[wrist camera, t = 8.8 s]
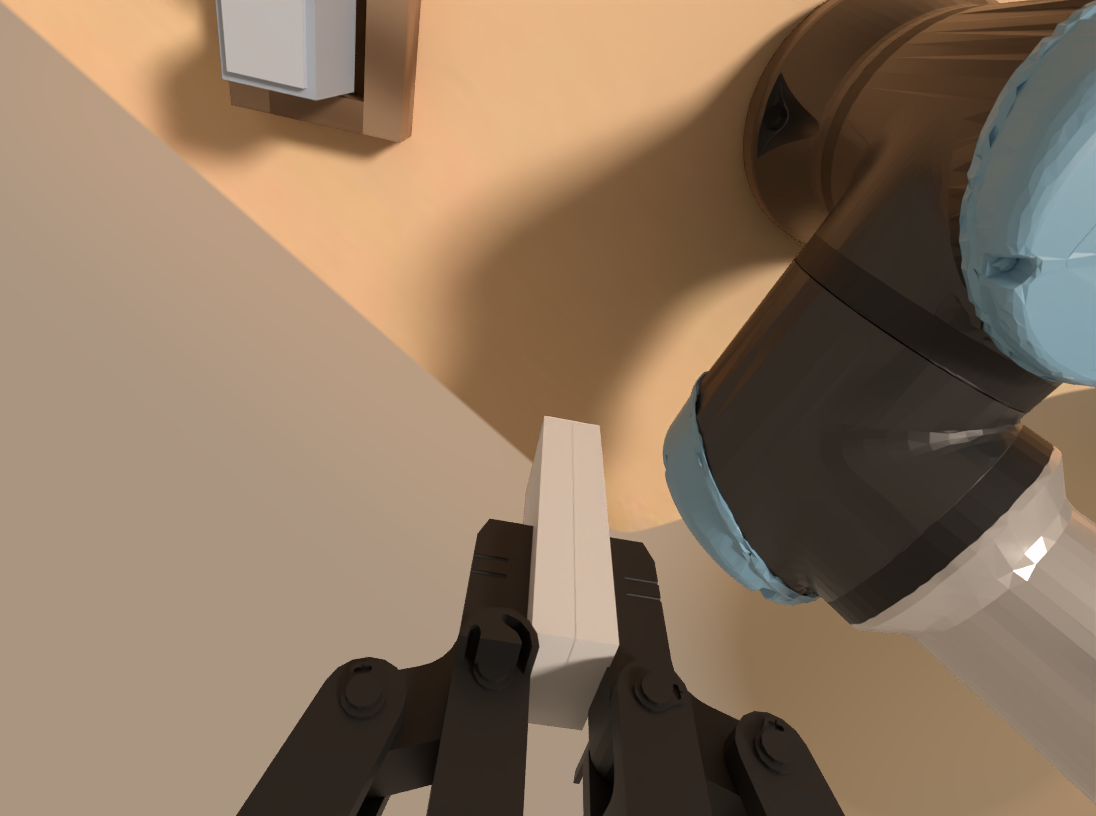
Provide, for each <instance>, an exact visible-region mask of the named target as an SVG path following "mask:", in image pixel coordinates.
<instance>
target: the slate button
mask: <svg viewBox="0 0 1096 816" xmlns="http://www.w3.org/2000/svg"><path fill="white" fill-rule="evenodd" d="M215 1H216V12H217V23H218V35H219V46H220V58H221V69H222V79H224V80H229V81H233V82H237V83H242V84H246V85H251V86H255V87H259V88H264V89H268V90H272V91H277V92H281V93H286V94H290V95H294V96H299V97H303V98H307V99H312V100H321V99H325V98H329V97H334V96H338V95H343V94H347V93H351V92H354V77H355V30H356V0H215Z"/></svg>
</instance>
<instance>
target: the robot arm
mask: <svg viewBox="0 0 1096 816" xmlns="http://www.w3.org/2000/svg"><path fill="white" fill-rule="evenodd" d="M743 151H744V164H745V170H746V175H747V179H748V182H749V185H750V188H751V190H752V193H753V195H754V197H755V199H756V201H757V202H758V204H759V205H760V207H761V208H762V210H763V211H764V212H765V214H766V215H767V216H768V217H769V218H770V219H771V220H772V221H773V222H774V223H775V224H777V225H778V226H779V227H780V228H781V229H782V230H784V231H785V232H786V233H787V234H789V235H790V236H792V237H793V238H795V239H797V240H798V241H800V242H802V243H804V244H806V245H805V247H804V248H803V249H802V251H801V252H800V253H799V254H798V256H797V257H796V258H795V259H794V260H793V261H792V263H791V264H790V265H789V267H788V268H787V269H786V270H785V272H784V273H783V274H782V276H781V277H780V278H779V280H778V281H777V282H776V284H775V285H774V286H773V288H772V289H771V290H770V291H769V293H768V294H767V295H766V297H765V298H764V299H763V301H762V302H761V303H760V305H759V306H758V307H757V308H756V310H755V311H754V312H753V314H752V315H751V316H750V318H749V319H748V320H747V322H746V323H745V324H744V326H743V327H742V328H741V329H740V331H739V332H738V333H737V335H736V336H735V337H734V339H733V340H732V341H731V343H730V344H729V345H728V346H727V348H726V349H725V350H724V352H723V353H722V354H721V356H720V357H719V358H718V360H717V361H716V362H715V364H714V365H713V366H712V367H711V369H710V370H709V371H707V372H704V373H703V374H702V375H701V376H700V377H699V378H698V380H697V381H696V383H695V385H694V386H693V389H692V392H691V396H690V397H689V399H688V400H687V402H686V403H685V405H684V406H683V408H682V409H681V411H680V412H679V414H678V415H677V417H676V418H675V420H674V421H673V423H672V424H671V425H670V427H669V429H668V431H667V434H666V437H665V440H664V445H663V461H664V465H665V468H666V472H665V478H666V482H667V485H668V488H669V491H670V493H671V496H672V499H673V501H674V503H675V505H676V507H677V509H678V511H679V513H680V515H681V517H682V519H683V520H684V522H685V524H686V525H687V527H688V528H689V530H690V531H691V532H692V534H693V535H694V536H695V538H696V539H697V541H698V542H699V543H700V545H701V546H702V547H703V548H704V550H705V551H706V552H707V553H708V554H709V555H710V556H711V557H712V559H713V560H714V561H715V562H716V563H717V564H718V565H719V566H720V567H721V568H722V569H723V570H724V571H725V572H727V573H728V574H729V575H730V576H731V577H733V578H734V579H735V580H736V581H737V582H739V583H740V584H742V585H743V586H744V587H746V588H748V589H749V590H751V591H755V590H760V591H761V593H762V594H763V596H764V597H765V599H768V600H770V601H773V602H775V603H778V604H783V605H797V604H801V603H809V602H811V601H816V600H817V599H818V598H819V597H822V598H823V599H824V600H825V601H826V602H827V603H828V604H829V605H830V606H831V607H832V608H834V609H835V610H836V611H837V612H838V613H839V614H840V615H841V616H842V617H843V618H844V619H845V620H846V621H847V622H848V623H849V624H850V625H851V626H853V627H854V628H855V629H856V630H865V631H878V632H890V633H900V634H903V635H906V636H909V637H912V638H914V639H915V640H916V641H917V642H918V643H919V644H920V645H921V646H922V647H924V648H925V649H926V650H927V651H928V652H929V653H930V654H931V655H932V656H934V657H935V658H936V659H937V660H938V661H939V662H940V663H941V664H942V665H943V666H944V667H946V668H947V669H948V670H949V671H950V672H951V673H952V674H953V675H954V676H955V677H957V678H958V679H959V680H960V681H961V682H962V683H963V684H964V685H965V686H966V687H967V688H969V689H970V690H971V691H972V692H973V693H974V694H975V695H976V696H977V697H978V698H980V699H981V700H982V701H983V702H984V703H985V704H986V705H987V706H988V707H989V708H990V709H991V710H993V711H994V712H995V713H996V714H997V715H998V716H999V717H1000V718H1001V719H1002V720H1003V721H1005V722H1006V723H1007V724H1008V725H1009V726H1010V727H1011V728H1012V729H1013V730H1015V732H1017V733H1018V734H1019V735H1020V736H1021V737H1022V738H1023V739H1024V740H1025V741H1026V742H1028V743H1029V744H1030V745H1031V746H1032V747H1033V748H1034V749H1035V750H1036V751H1038V753H1040V754H1041V755H1042V756H1043V757H1044V758H1045V759H1046V760H1047V761H1049V763H1050V764H1052V765H1053V766H1054V767H1055V768H1056V769H1057V770H1058V771H1059V772H1060V773H1061V774H1063V775H1064V776H1065V777H1066V778H1067V779H1068V780H1069V781H1070V782H1071V783H1072V784H1074V785H1075V786H1076V787H1077V788H1078V789H1079V790H1080V791H1081V792H1082V793H1083V794H1084V795H1086V796H1087V797H1088V798H1089V799H1090V800H1091V801H1092V802H1093V803H1094V804H1096V524H1095V523H1094V522H1092V521H1091V520H1090V519H1088V518H1087V517H1085V516H1084V515H1083V514H1081V513H1080V512H1078V511H1077V510H1076V509H1074V507H1073V506H1072V505H1071V504H1070V502H1069V501H1068V500H1067V499H1066V495H1065V486H1064V475H1063V465H1062V456H1061V452H1060V451H1059V450H1058V449H1057V448H1056V447H1054V446H1053V445H1052V444H1051V443H1049V442H1048V441H1046V440H1045V439H1043V438H1042V437H1041V436H1039V435H1038V434H1036V433H1035V432H1033V431H1032V430H1030V429H1029V428H1028V427H1026V426H1025V425H1023V424H1022V423H1021V421H1020V419H1021V418H1022V417H1023V416H1024V415H1025V414H1026V413H1027V412H1030V410H1031V409H1033V408H1034V407H1035V406H1036V405H1037V404H1039V403H1040V402H1041V401H1042V400H1043V399H1044V398H1046V397H1047V396H1048V395H1049V394H1050V393H1051V392H1053V391H1054V390H1055V389H1056V388H1057V387H1058V386H1060V385H1061V384H1062V383H1063V382H1064V383H1069V384H1074V385H1076V384H1077V385H1084V386H1092V387H1096V0H1027V1H1018V2H1009V3H999V2H998V1H996V0H829V1H827V2H826V3H824V4H823V5H821V6H820V7H819V8H818V9H816V10H815V11H814V12H812V13H811V14H810V15H809V16H808V17H807V18H805V19H804V20H803V21H802V22H801V23H800V24H799V25H798V26H797V27H796V28H795V29H794V30H793V31H792V32H791V34H790V35H789V36H788V37H787V38H786V39H785V41H784V42H783V43H782V44H781V46H780V47H779V48H778V50H777V51H776V53H775V54H774V55H773V57H772V58H771V60H770V62H769V63H768V65H767V67H766V68H765V70H764V72H763V74H762V76H761V78H760V80H759V82H758V85H757V87H756V89H755V92H754V94H753V97H752V100H751V103H750V106H749V110H748V114H747V119H746V124H745V131H744V144H743ZM657 582H658V580H657V574H656V568H655V562H654V560H653V559H652V557H651V556H650V554H649V552H648V551H647V549H646V547H645V546H644V544H643V543H641V542H635V541H629V540H623V539H617V538H611V537H610V536H609V524H608V513H607V502H606V490H605V479H604V468H603V456H602V445H601V434H600V426H599V425H594V424H588V423H583V422H578V421H572V420H567V419H561V418H556V417H550V416H545V415H544V419H543V423H542V427H541V432H540V436H539V440H538V444H537V448H536V453H535V457H534V461H533V465H532V470H531V474H530V478H529V482H528V487H527V490H526V498H525V509H524V521H523V524H519V523H513V522H506V521H501V520H494V519H489V520H488V522H487V523H486V524H485V525H484V526H483V528H482V529H481V530H480V531H479V533H478V534H477V540H476V545H475V550H474V555H473V561H472V566H471V571H470V577H469V582H468V588H467V593H466V599H465V604H464V610H463V615H462V621H461V626H460V632H459V635H458V639H457V641H456V642H455V644H454V645H453V647H452V648H451V650H450V651H449V652H447V653H446V654H445V655H444V656H443V657H441V658H440V659H438V660H436V661H434V662H432V663H429V664H426V665H422V666H418V667H412V668H407V669H401V670H398V669H397V667H395V666H393V665H392V664H390V663H389V662H387V661H386V660H383V659H378V658H372V657H366V658H360V659H355V660H351V661H349V662H348V663H346V664H344V665H342V666H340V667H338V668H337V669H336V670H335V671H334V672H333V673H332V674H331V675H330V677H329V678H328V679H327V680H326V681H325V682H324V684H323V685H322V687H321V688H320V690H319V691H318V693H317V694H316V696H315V697H314V699H313V701H312V702H311V703H310V705H309V707H308V708H307V710H306V711H305V713H304V714H303V716H302V717H301V719H300V720H299V722H298V723H297V725H296V726H295V728H294V730H293V731H292V732H291V734H290V735H289V737H288V738H287V740H286V742H285V743H284V744H283V746H282V747H281V749H280V750H279V752H278V753H277V755H276V757H275V758H274V759H273V761H272V762H271V764H270V765H269V767H268V768H267V770H266V772H265V773H264V775H263V776H262V778H261V779H260V781H259V782H258V784H257V785H256V787H255V788H254V790H253V791H252V793H251V794H250V796H249V797H248V799H247V800H246V802H245V803H244V805H243V806H242V808H241V809H240V811H239V812H238V814H237V815H236V816H381V815H382V813H383V811H384V808H385V806H386V804H387V802H388V800H389V797H390V795H392V794H397V793H400V792H404V791H409V790H412V789H417V788H420V787H424V786H428V785H432V787H431V792H430V798H429V803H428V809H427V815H426V816H523V808H524V789H525V770H526V751H527V731H528V723H532V724H540V725H547V726H554V727H561V728H569V729H577V730H582V729H583V727H584V725H585V722H586V720H587V718H588V725H589V742H588V744H587V746H586V749H585V751H584V753H583V755H582V757H581V759H580V762H579V764H578V766H577V768H576V771H575V777H574V782H573V783H577V784H579V783H580V781H581V779H582V777H583V808H584V816H845V815H844V813H843V811H842V809H841V808H840V806H839V804H838V802H837V800H836V798H835V797H834V795H833V793H832V791H831V789H830V788H829V786H828V784H827V782H826V780H825V778H824V776H823V775H822V773H821V771H820V769H819V767H818V766H817V764H816V762H815V760H814V758H813V756H812V755H811V753H810V751H809V749H808V747H807V745H806V744H805V743H804V741H803V740H802V739H801V737H800V736H799V734H798V733H797V732H796V731H795V730H794V729H793V728H792V727H791V726H790V725H788V724H787V723H786V722H785V721H784V720H782V719H780V718H778V717H776V716H774V715H772V714H770V713H767V712H757V711H754V712H751V713H749V714H746V715H744V716H743V717H742V718H741V720H740V721H739V720H737V719H735V718H733V717H731V716H729V715H727V714H725V713H722V712H720V711H718V710H716V709H714V708H712V707H710V706H708V705H706V704H705V703H702V702H701V701H700V700H698V699H697V698H695V697H694V696H693V695H692V694H691V693H690V692H688V691H687V688H686V686H685V684H684V683H683V681H682V680H681V679H680V678H679V676H678V675H677V674H676V673H675V671H674V668H673V665H672V661H671V656H670V650H669V644H668V639H667V632H666V627H665V621H664V616H663V609H662V603H661V602H660V591H659V586H658V585H657Z"/></svg>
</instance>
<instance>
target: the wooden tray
mask: <svg viewBox="0 0 1096 816" xmlns="http://www.w3.org/2000/svg"><path fill="white" fill-rule="evenodd" d="M420 5H421V0H367V7H366V41H365V75H364V95H362V94H358V93H353V92H351V93H347V94H343V95H338V96H334V97H329V98H325V99H321V100H312V99H307V98H303V97H299V96H294V95H290V94H286V93H281V92H277V91H272V90H268V89H264V88H259V87H255V86H251V85H246V84H242V83H237V82H233V81H229V82H230V95H231V105H235V106H240V107H244V108H248V109H253V110H257V111H262V112H266V113H271V114H275V115H280V116H284V117H288V118H293V119H297V120H302V121H306V122H311V123H315V124H319V125H324V126H328V127H333V128H337V129H342V130H346V131H351V132H355V133H359V134H364V135H368V136H373V137H377V138H382V139H386V140H391V141H395V142H399V143H400V142H402V141H404V140H405V139H407V138H409V137H410V136H411V132H412V118H413V104H414V90H415V76H416V62H417V47H418V33H419V19H420Z"/></svg>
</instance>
